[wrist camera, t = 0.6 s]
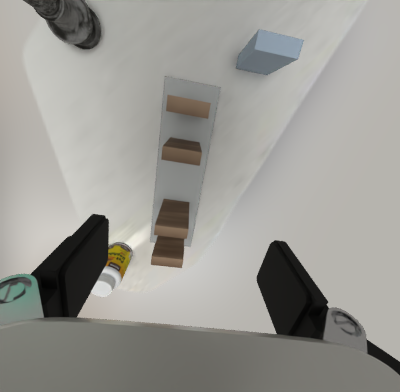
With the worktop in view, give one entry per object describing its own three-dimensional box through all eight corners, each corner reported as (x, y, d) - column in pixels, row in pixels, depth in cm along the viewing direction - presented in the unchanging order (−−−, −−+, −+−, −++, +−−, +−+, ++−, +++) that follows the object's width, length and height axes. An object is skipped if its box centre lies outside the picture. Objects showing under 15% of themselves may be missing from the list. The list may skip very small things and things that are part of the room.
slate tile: (238, 54, 30) (259, 29, 21) (270, 62, 31) (303, 40, 21) (236, 68, 31) (254, 49, 22) (267, 75, 31) (297, 59, 22)
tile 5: (160, 224, 41) (151, 256, 32) (185, 227, 42) (183, 259, 32) (160, 231, 42) (150, 264, 33) (184, 234, 42) (181, 267, 33)
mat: (165, 76, 31) (165, 76, 31) (220, 87, 32) (220, 87, 31) (150, 240, 43) (150, 242, 43) (190, 245, 44) (190, 246, 44)
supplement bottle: (134, 245, 43) (119, 281, 34) (130, 263, 45) (114, 302, 36) (109, 239, 43) (86, 274, 33) (105, 258, 45) (82, 297, 35)
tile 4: (163, 198, 39) (154, 225, 30) (189, 202, 39) (188, 229, 30) (162, 206, 39) (153, 234, 30) (188, 210, 40) (186, 239, 31)
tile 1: (174, 99, 32) (167, 94, 23) (205, 105, 32) (210, 103, 23) (173, 111, 33) (165, 111, 23) (203, 117, 33) (208, 119, 24)
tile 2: (170, 137, 34) (162, 146, 25) (199, 142, 35) (202, 152, 26) (169, 147, 35) (161, 159, 26) (197, 152, 35) (199, 165, 26)
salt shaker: (101, 4, 27) (39, -70, 16) (104, 54, 30) (51, 19, 18) (57, -3, 27) (-37, -85, 16) (63, 48, 29) (-15, 9, 18)
